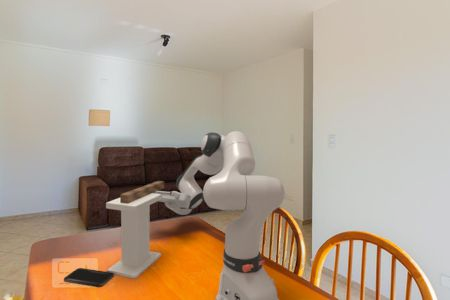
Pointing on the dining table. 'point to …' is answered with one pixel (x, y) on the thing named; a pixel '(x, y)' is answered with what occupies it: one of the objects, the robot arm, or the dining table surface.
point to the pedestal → (134, 236)
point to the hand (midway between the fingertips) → (161, 192)
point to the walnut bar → (141, 192)
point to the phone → (89, 277)
